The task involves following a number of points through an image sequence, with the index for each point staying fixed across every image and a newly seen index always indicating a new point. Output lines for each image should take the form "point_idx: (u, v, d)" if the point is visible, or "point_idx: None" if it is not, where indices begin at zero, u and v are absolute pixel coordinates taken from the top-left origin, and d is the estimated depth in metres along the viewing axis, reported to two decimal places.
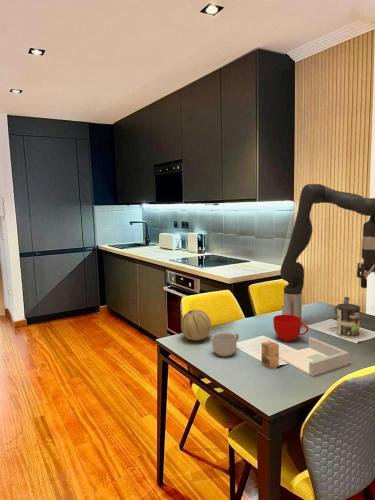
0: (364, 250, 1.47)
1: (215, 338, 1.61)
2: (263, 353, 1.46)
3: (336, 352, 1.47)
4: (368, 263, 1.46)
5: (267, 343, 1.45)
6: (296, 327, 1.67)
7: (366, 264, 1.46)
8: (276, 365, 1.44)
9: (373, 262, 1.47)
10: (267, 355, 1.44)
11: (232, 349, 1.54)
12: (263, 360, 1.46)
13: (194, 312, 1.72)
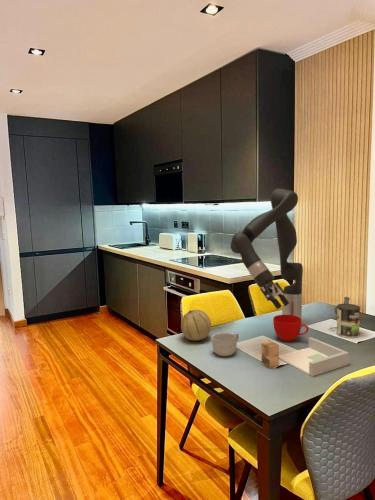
0: None
1: (215, 338, 1.61)
2: (263, 353, 1.46)
3: (336, 352, 1.47)
4: None
5: (267, 343, 1.45)
6: (296, 327, 1.67)
7: None
8: (276, 365, 1.44)
9: None
10: (267, 355, 1.44)
11: (232, 349, 1.54)
12: (263, 360, 1.46)
13: (194, 312, 1.72)
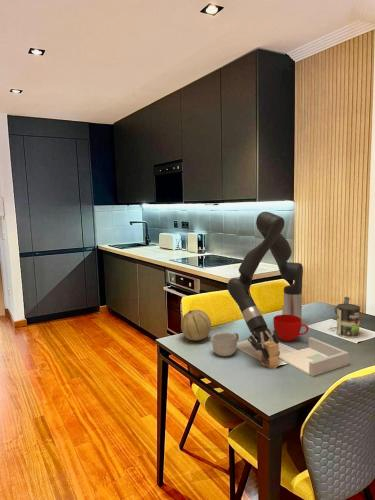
0: None
1: (215, 338, 1.61)
2: None
3: (336, 352, 1.47)
4: None
5: (267, 343, 1.45)
6: (296, 327, 1.67)
7: None
8: (276, 365, 1.44)
9: None
10: None
11: (232, 349, 1.54)
12: (263, 360, 1.46)
13: (194, 312, 1.72)
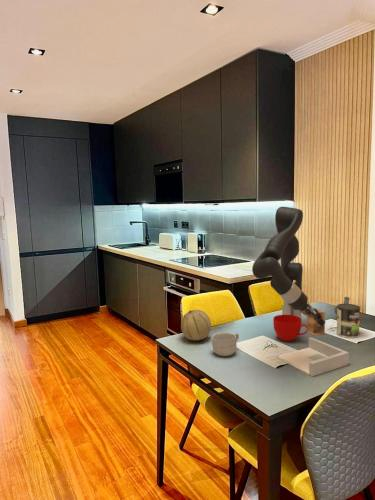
0: None
1: (215, 338, 1.61)
2: (315, 323, 1.44)
3: (336, 352, 1.47)
4: None
5: None
6: (296, 327, 1.67)
7: None
8: None
9: None
10: None
11: (232, 349, 1.54)
12: (316, 330, 1.44)
13: (194, 312, 1.72)
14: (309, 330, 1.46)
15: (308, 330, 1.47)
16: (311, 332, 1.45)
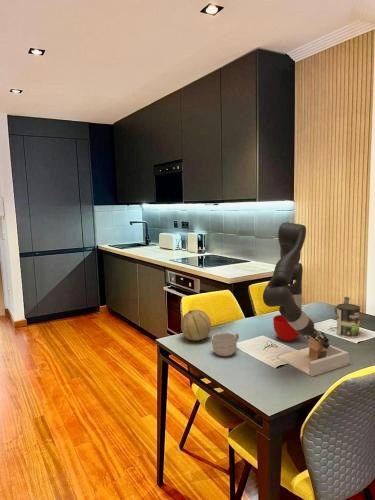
0: None
1: (215, 338, 1.61)
2: (319, 349, 1.47)
3: (336, 352, 1.47)
4: None
5: None
6: None
7: None
8: None
9: None
10: (323, 348, 1.48)
11: (232, 349, 1.54)
12: (320, 355, 1.47)
13: (194, 312, 1.72)
14: (312, 356, 1.49)
15: (311, 355, 1.49)
16: (315, 358, 1.47)
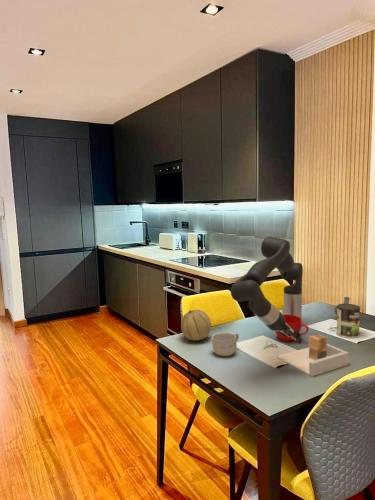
0: None
1: (215, 338, 1.61)
2: (319, 349, 1.47)
3: (336, 352, 1.47)
4: None
5: (318, 337, 1.48)
6: (296, 327, 1.67)
7: None
8: None
9: None
10: (323, 348, 1.48)
11: (232, 349, 1.54)
12: (320, 355, 1.47)
13: (194, 312, 1.72)
14: (312, 356, 1.49)
15: (311, 355, 1.49)
16: (315, 358, 1.47)
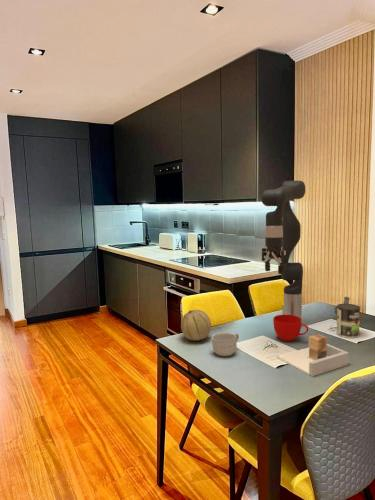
0: None
1: (215, 338, 1.61)
2: (319, 349, 1.47)
3: (336, 352, 1.47)
4: (267, 249, 1.62)
5: (318, 337, 1.48)
6: (296, 327, 1.67)
7: None
8: None
9: (271, 249, 1.59)
10: (323, 348, 1.48)
11: (232, 349, 1.54)
12: (320, 355, 1.47)
13: (194, 312, 1.72)
14: (312, 356, 1.49)
15: (311, 355, 1.49)
16: (315, 358, 1.47)
